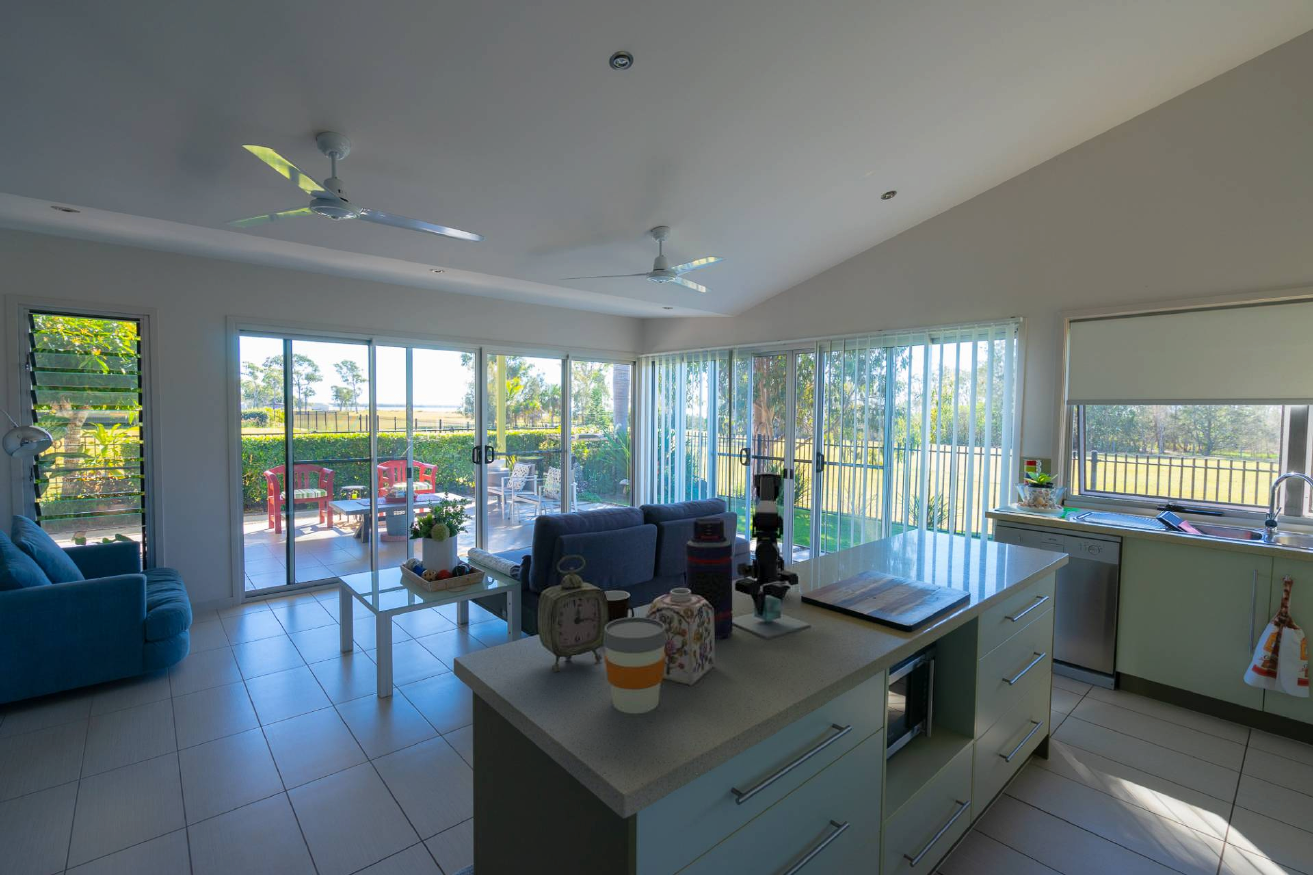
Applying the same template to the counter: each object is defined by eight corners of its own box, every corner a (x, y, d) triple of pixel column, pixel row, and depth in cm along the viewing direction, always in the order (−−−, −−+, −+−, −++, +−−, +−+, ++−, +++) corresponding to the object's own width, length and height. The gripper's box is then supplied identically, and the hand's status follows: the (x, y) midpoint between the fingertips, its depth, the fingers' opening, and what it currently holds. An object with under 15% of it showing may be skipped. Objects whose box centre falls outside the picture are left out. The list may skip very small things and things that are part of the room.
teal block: (767, 612, 163) (767, 595, 163) (780, 617, 159) (780, 599, 159) (754, 616, 160) (754, 598, 160) (767, 621, 156) (767, 602, 156)
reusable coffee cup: (594, 696, 118) (593, 623, 118) (649, 683, 124) (649, 613, 124) (619, 724, 107) (618, 643, 107) (679, 708, 113) (678, 631, 112)
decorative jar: (716, 666, 132) (715, 587, 132) (693, 687, 122) (692, 601, 122) (670, 656, 138) (669, 581, 138) (644, 675, 128) (643, 593, 128)
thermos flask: (735, 642, 147) (734, 523, 146) (687, 642, 147) (686, 523, 146) (729, 623, 160) (728, 514, 160) (686, 624, 161) (684, 515, 160)
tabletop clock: (550, 677, 128) (549, 563, 127) (535, 663, 135) (533, 555, 135) (609, 661, 136) (607, 554, 135) (591, 649, 143) (589, 547, 143)
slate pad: (768, 611, 171) (768, 609, 171) (810, 626, 157) (810, 624, 157) (726, 621, 162) (726, 619, 162) (766, 639, 149) (766, 636, 149)
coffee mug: (594, 629, 157) (594, 592, 157) (625, 625, 160) (625, 589, 160) (604, 644, 146) (603, 605, 146) (637, 640, 149) (636, 601, 149)
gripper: (770, 547, 171) (771, 600, 171) (721, 555, 161) (722, 612, 161) (799, 553, 162) (799, 610, 162) (749, 563, 152) (749, 623, 152)
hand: (767, 613), depth 160 cm, fingers closed on teal block, 5 cm apart
